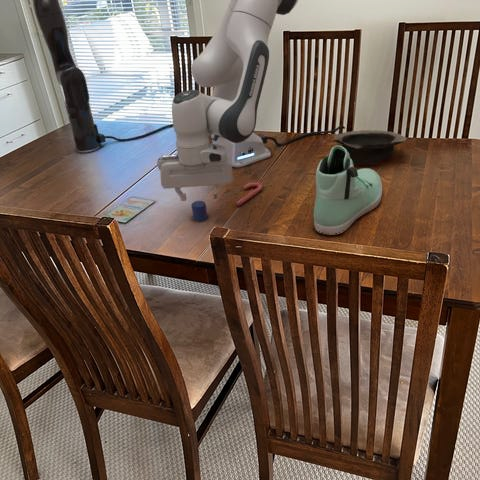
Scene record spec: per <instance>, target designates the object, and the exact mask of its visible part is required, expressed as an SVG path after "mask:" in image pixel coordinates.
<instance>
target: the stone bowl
mask: <svg viewBox="0 0 480 480" xmlns="http://www.w3.org/2000/svg"><path fill="white" fill-rule="evenodd" d="M332 141H333V142H335V143H337V144H340V145H341V146H342V147H344V148H345V149H346V150H347V152H348V153H349V156H350V159H352V161H353V165H355V166H357V165H360V166H369V165H377V164H380V163H381V162H382V160H391V159H392V158H393V156H394V151H395V146H397V145H400V144H403V143H404V142H406V141H407V137H405V136H404V135H402V134H400V133H397V132H393V131H387V130H386V131H385V130H352V131H351V130H350V131H345V132H342V133H337V134H336V135H334V136H333V140H332Z"/></svg>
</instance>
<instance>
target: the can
mask: <svg viewBox="0 0 480 480" xmlns="http://www.w3.org/2000/svg"><path fill="white" fill-rule="evenodd" d="M191 213H192V219H193V220H194V221H195V222H204V221H205V220H207V219H208V212H207V204H206V201H204V200H196V201H193V202H192V203H191Z"/></svg>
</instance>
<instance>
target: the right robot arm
mask: <svg viewBox="0 0 480 480" xmlns="http://www.w3.org/2000/svg"><path fill="white" fill-rule="evenodd" d="M298 2H299V0H230V1H229V3H228V5H227V8H226V10H225V12H224V15H223V17H222V19H221V22H220V24H219V27H218V28H217V30H215V33H214V34H213V35H212V36H211V38H210V40H209V42H208V43H207V45H206V46H205V47H204V49H203V50H202V51H201V52H200V54H199V55H198V56H197V57H196V58H195V59H194V60H193V61H192V64H191V69H190V71H191V76H192V78H193V80H194V82H195V83H196V84H197V85H198V86H200V87H202V88H213V91H212V94H211V95H207V94H205V93H203V92H201V91H200V90H197V89H189V90H184V91H180V92H179V93H177V94H176V95H174V97H173V99H172V103H171V118H172V119H171V120H172V124H173V126H172V127H173V130H174V131H173V132H174V133H175V135H176V137H175V138H176V140H175V147H176V152H177V154H169V155H167V154H163V155H161V156H160V157H158V158H157V161H156V164H157V168H158V170H159V171H160V185H161V187H162V188H163V189H165V190H167V189H174V192H175V193H176V194H177V195H178V197H179V198H180V202H186V201H187V194H186V192H183V191H182V190H181V189H182V188H194V187H207V186H209V187H210V186H216V190H213V193H212V195H213V199H214V200H217V199H220V192H221V190H222V186H224V185H231V184H232V183H233V182H234V169H233V168H242V167H246V166H249V165H251V164H254V163H257V162H261V161H264V160H265V159H268V158H271V156H272V154H271V151H270V150H269V148H267V147H265V145H266V144H268V140H271V141H273V143H274V144H275V145H276V146H278V147H282V146H285V145H288V144H290V143H292V142H294V141H297V140H299V139H302V138H305V137H308V136H313V135H325V134H333V133H336V132H338V131H339V130H340V129H342V130H345V129H346V127H345V126H344V125H342V124H341V125H339V126H337V127H336V128H334V129H330V130H321V131H311V132H305V133H302V134H300V135H298V136H295V137H293V138H290V139H288V140H287V141H285V142H282V143H281V142H280V143H279V142H278V141H277V139H276V138H275V137H273V136H268V135H267V136H266V135H264V134H262V133H258V134H256V132H254V131H255V129H256V126H257V118H258V117H257V116H258V108H259V103H260V99H261V94H262V92H263V86H264V84H265V79H266V75H267V71H268V67H269V62H270V61H269V60H270V51H269V50H270V49H269V47H268V43H269V37H270V33H271V31H272V28H273V25H274V22H275V19H276V15H279V16H285V15H288V14H290V13H291V11H292V10H293V9H294V8H295V7H296V5H297V4H298ZM209 138H211V142H210V139H209Z"/></svg>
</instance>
